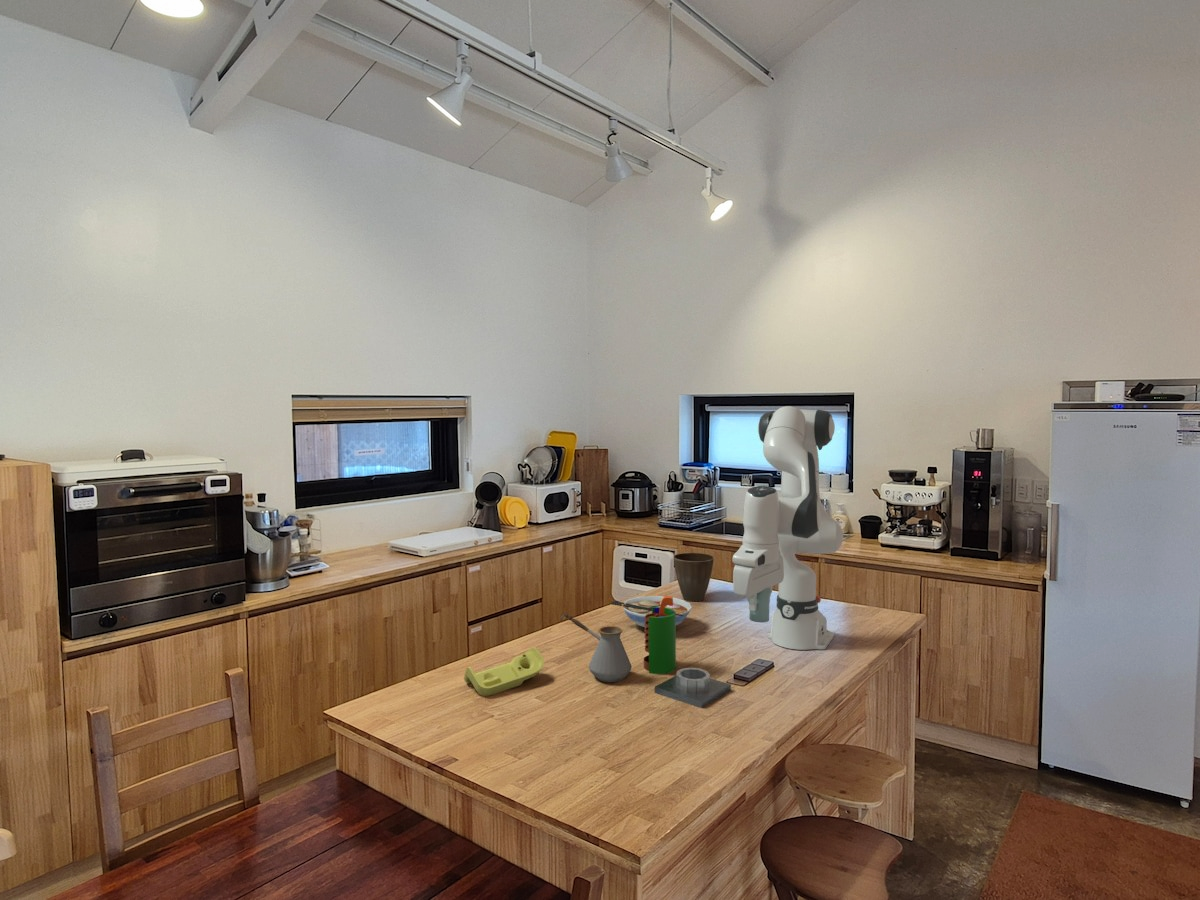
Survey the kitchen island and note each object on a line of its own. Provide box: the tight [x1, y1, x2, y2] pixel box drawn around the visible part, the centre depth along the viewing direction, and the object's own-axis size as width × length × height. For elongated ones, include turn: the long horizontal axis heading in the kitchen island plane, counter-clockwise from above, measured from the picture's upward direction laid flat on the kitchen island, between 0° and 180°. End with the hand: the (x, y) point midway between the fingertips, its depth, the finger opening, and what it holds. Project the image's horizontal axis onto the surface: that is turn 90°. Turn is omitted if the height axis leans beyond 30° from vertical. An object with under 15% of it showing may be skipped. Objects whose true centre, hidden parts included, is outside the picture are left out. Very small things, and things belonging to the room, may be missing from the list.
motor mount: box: [654, 667, 732, 709], centre depth 183 cm, size 14×14×4 cm
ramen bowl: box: [611, 595, 692, 628], centre depth 234 cm, size 25×23×8 cm
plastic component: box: [463, 646, 545, 697], centre depth 188 cm, size 20×7×10 cm
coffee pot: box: [560, 612, 632, 683], centre depth 194 cm, size 21×12×15 cm, turn 58°
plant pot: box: [673, 552, 715, 603], centre depth 267 cm, size 15×15×16 cm
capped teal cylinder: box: [749, 588, 771, 623], centre depth 178 cm, size 5×5×10 cm
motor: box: [643, 595, 677, 675], centre depth 198 cm, size 10×9×20 cm
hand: (759, 607), depth 178 cm, fingers closed on capped teal cylinder, 5 cm apart
